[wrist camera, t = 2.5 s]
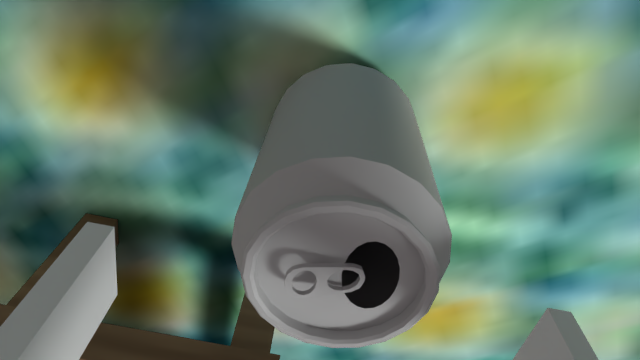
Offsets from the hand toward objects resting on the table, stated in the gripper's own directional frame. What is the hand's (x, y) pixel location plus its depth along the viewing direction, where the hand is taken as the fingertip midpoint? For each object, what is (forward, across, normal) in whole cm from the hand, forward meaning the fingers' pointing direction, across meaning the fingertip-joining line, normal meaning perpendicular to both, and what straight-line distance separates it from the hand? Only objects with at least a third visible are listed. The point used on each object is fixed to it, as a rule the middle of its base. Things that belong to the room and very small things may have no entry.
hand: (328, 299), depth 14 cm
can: (+12, 0, 0) cm, 13 cm away
